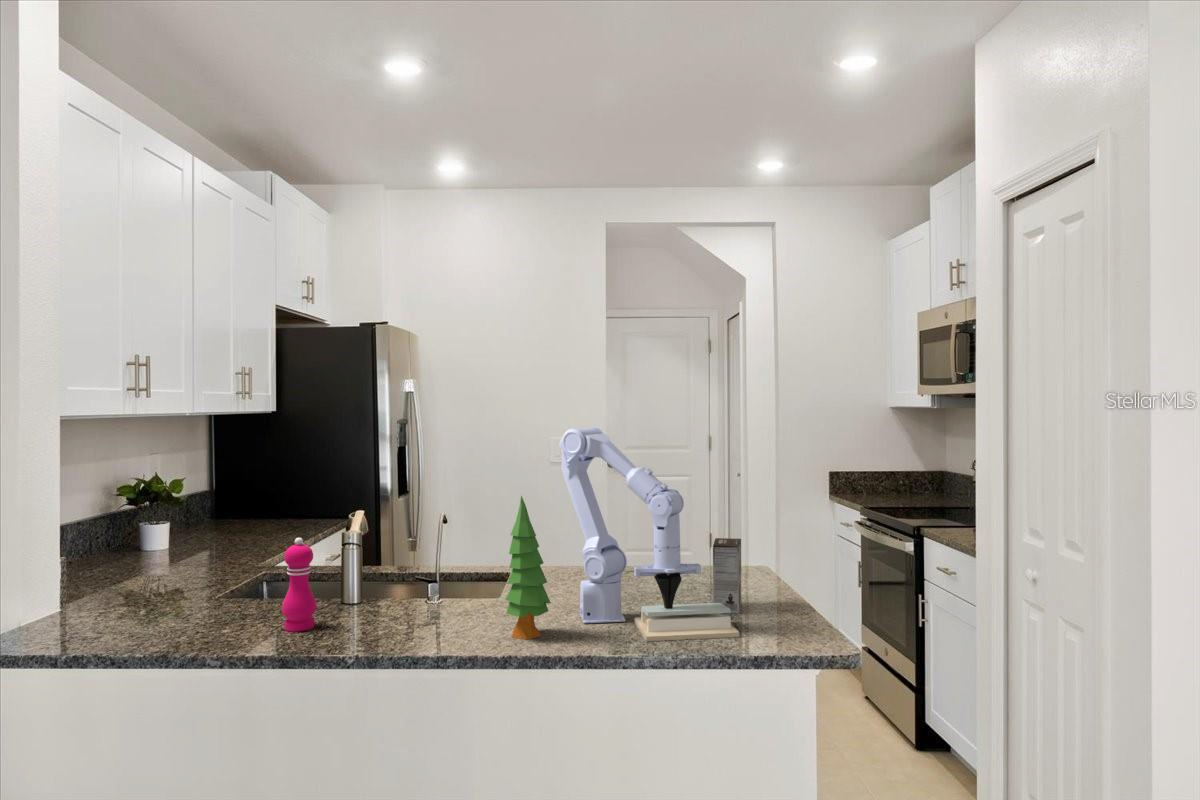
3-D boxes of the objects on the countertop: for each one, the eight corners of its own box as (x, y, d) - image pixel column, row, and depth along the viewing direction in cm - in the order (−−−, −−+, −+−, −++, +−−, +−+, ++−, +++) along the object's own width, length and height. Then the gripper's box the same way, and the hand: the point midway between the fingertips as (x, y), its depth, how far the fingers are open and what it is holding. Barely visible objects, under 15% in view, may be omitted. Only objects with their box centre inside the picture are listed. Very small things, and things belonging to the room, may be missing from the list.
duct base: (646, 641, 169) (646, 624, 169) (634, 622, 183) (634, 606, 183) (739, 637, 171) (739, 620, 171) (720, 618, 185) (720, 603, 185)
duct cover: (648, 616, 172) (648, 612, 172) (641, 609, 180) (641, 606, 180) (730, 612, 174) (730, 608, 174) (720, 606, 182) (719, 602, 182)
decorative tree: (510, 628, 178) (509, 492, 178) (552, 628, 178) (552, 492, 178) (503, 642, 169) (502, 498, 168) (548, 642, 168) (547, 498, 168)
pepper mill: (284, 634, 175) (283, 541, 174) (280, 625, 181) (279, 536, 181) (319, 629, 178) (318, 538, 178) (314, 621, 184) (313, 533, 184)
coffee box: (715, 602, 199) (714, 537, 199) (741, 603, 198) (741, 538, 197) (712, 612, 190) (712, 544, 190) (740, 614, 189) (740, 545, 188)
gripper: (637, 550, 172) (639, 614, 172) (704, 547, 174) (705, 610, 174) (631, 545, 179) (633, 606, 179) (695, 542, 181) (697, 602, 181)
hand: (668, 608), depth 177 cm, fingers closed, pressing on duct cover
